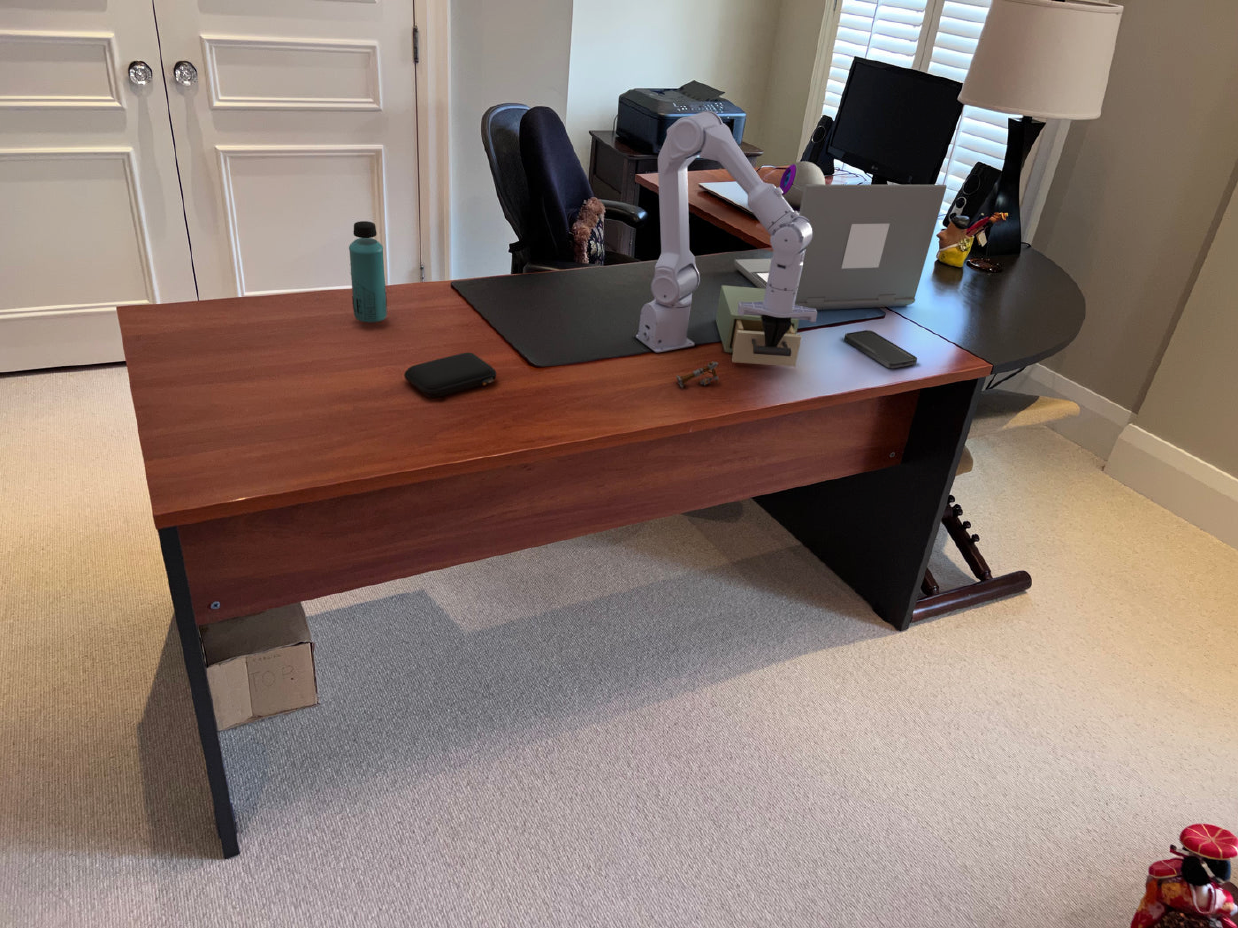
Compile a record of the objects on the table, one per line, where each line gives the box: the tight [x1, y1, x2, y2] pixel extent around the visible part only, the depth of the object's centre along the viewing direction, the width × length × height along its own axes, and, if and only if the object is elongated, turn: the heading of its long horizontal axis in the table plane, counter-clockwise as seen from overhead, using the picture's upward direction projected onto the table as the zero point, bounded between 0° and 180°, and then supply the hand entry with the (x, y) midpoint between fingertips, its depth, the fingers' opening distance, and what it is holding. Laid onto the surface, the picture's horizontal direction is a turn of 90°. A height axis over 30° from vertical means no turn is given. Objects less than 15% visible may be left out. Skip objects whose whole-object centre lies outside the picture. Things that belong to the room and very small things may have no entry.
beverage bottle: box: [348, 220, 388, 323], centre depth 172 cm, size 6×7×20 cm
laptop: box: [733, 183, 948, 311], centre depth 210 cm, size 35×26×28 cm
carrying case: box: [403, 352, 497, 399], centre depth 159 cm, size 11×3×15 cm
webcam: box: [779, 160, 826, 213], centre depth 264 cm, size 13×13×15 cm
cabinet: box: [715, 284, 800, 354], centre depth 187 cm, size 16×14×8 cm
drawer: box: [731, 319, 802, 368], centre depth 179 cm, size 20×12×6 cm, turn 2°
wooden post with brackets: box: [675, 360, 720, 388], centre depth 168 cm, size 2×8×4 cm, turn 106°
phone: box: [843, 329, 918, 370], centre depth 189 cm, size 8×1×15 cm
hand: (769, 352), depth 173 cm, fingers closed, pressing on drawer
